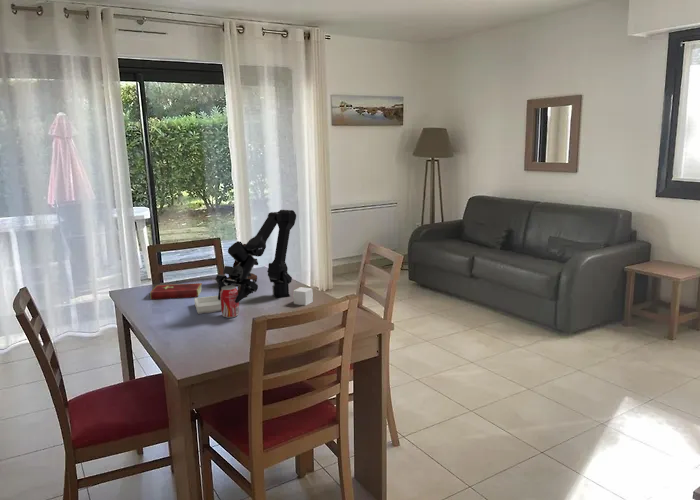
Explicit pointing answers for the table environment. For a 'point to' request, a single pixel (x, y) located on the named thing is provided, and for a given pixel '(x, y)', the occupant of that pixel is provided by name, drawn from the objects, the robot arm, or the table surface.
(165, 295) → the hardcover book
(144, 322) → the table surface
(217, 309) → the tray
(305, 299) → the white cube
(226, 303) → the soda can
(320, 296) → the table surface
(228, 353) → the table surface
